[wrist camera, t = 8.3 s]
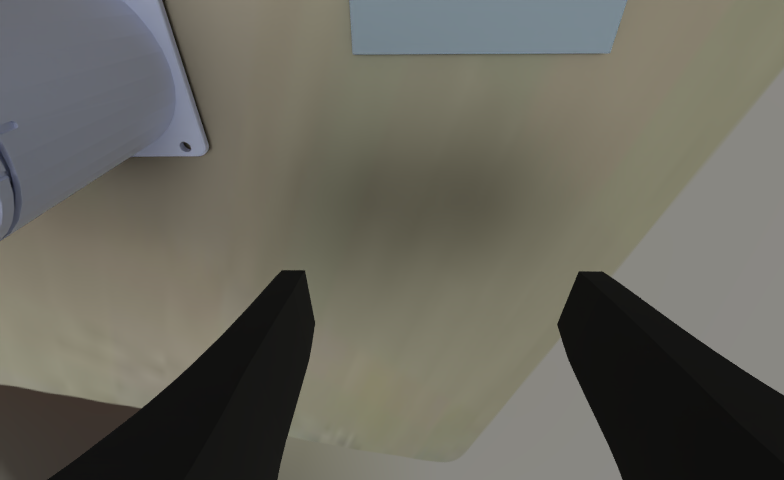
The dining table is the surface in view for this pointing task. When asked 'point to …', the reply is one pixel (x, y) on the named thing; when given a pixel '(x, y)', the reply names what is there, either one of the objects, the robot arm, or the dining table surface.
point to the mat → (484, 26)
